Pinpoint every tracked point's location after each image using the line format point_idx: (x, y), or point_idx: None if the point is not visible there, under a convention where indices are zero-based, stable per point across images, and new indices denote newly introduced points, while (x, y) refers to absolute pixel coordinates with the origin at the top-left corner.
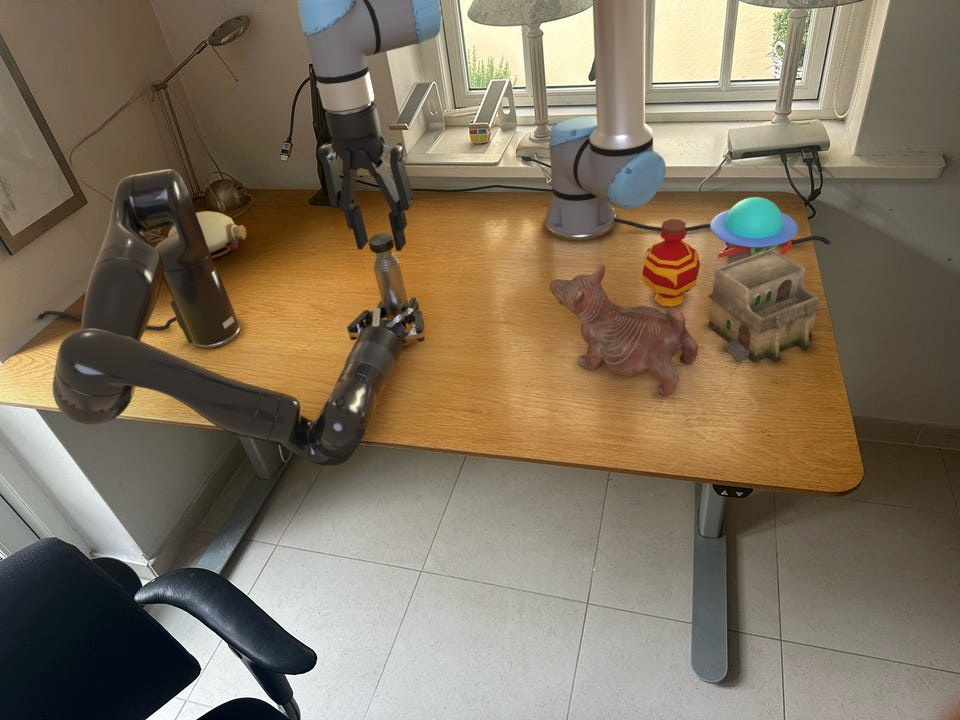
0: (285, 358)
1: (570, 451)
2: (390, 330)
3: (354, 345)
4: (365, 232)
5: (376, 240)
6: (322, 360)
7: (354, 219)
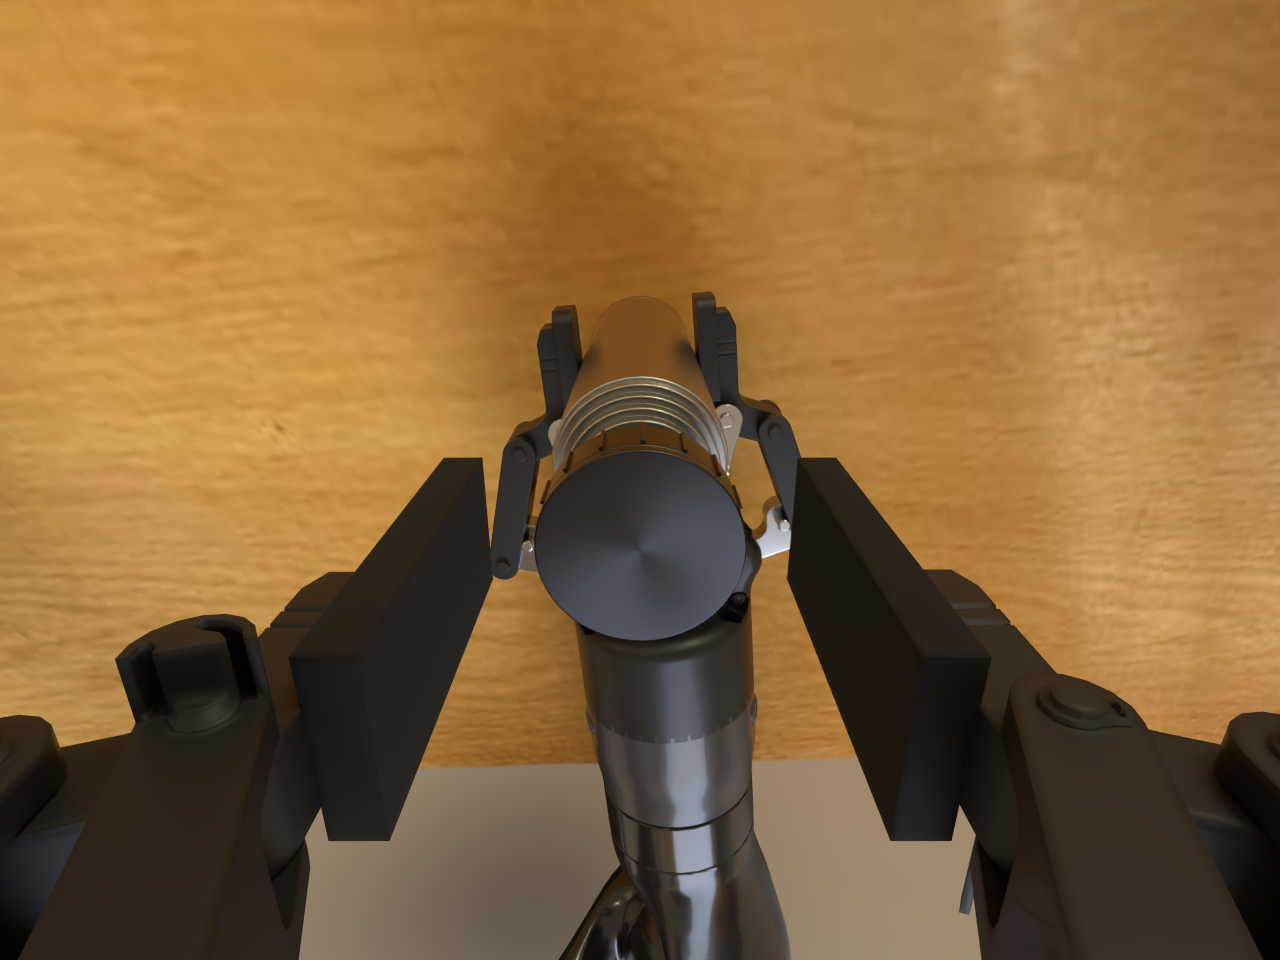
0: (240, 509)
1: None
2: None
3: (610, 729)
4: (462, 507)
5: (614, 574)
6: (385, 501)
7: (414, 775)
